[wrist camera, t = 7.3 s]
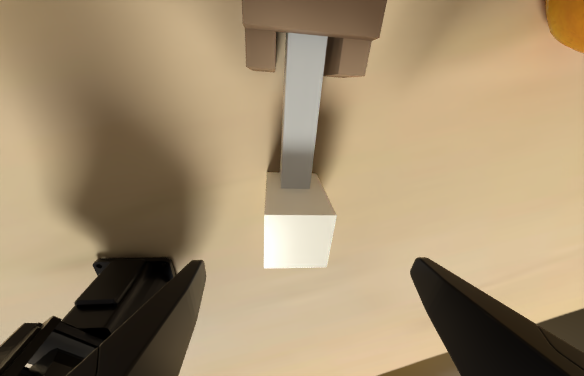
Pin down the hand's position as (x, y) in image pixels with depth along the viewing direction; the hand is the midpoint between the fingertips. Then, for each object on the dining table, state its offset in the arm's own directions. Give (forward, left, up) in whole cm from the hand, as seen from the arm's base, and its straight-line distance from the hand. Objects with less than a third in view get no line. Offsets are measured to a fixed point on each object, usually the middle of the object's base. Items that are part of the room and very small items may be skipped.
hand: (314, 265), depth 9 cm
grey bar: (+5, 0, -9) cm, 11 cm away
